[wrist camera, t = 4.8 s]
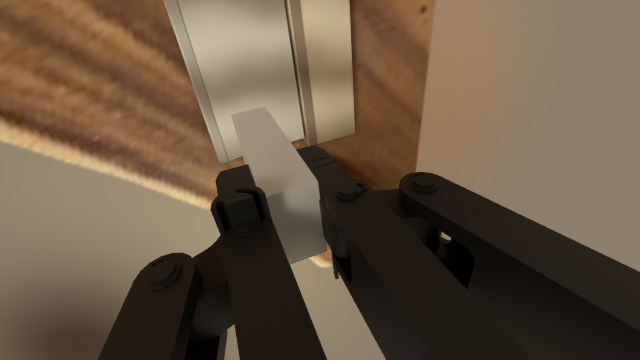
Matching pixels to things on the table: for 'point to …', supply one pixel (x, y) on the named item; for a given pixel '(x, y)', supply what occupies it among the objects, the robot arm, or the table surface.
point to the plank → (238, 64)
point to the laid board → (322, 67)
